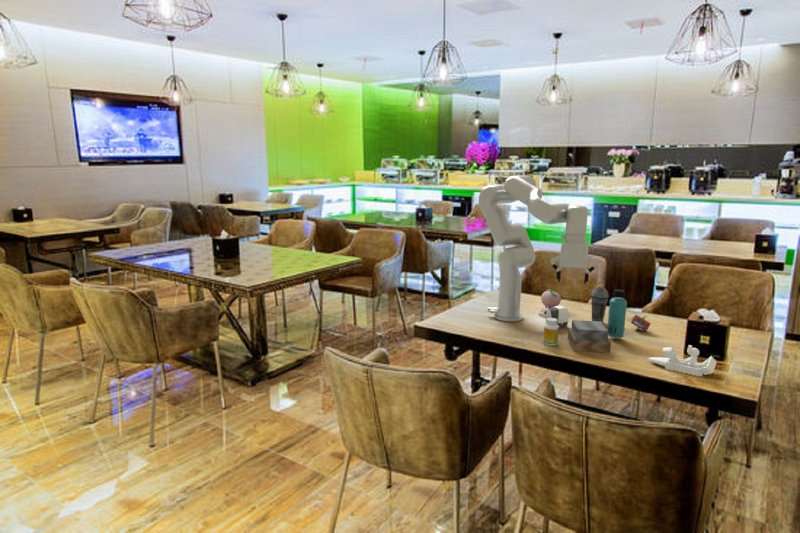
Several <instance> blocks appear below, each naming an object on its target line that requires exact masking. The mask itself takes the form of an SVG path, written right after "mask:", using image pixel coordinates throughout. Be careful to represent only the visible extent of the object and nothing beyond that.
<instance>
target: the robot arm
mask: <svg viewBox="0 0 800 533" xmlns="http://www.w3.org/2000/svg"><path fill="white" fill-rule="evenodd" d="M517 201H519V202H521V203H522V204H524V206H526V207H527V210H528V211H529V213H530V214H531V216H533V217H534V218H535V219H537V220H538V221H541V222H542V223H544V224H547V225H557V224H565V232H564V234H561V235H560V239H562V240H563V241H562V242H561V247H560V251H559V252H560V253H559V255H558V256H555V257H553V258H551V259H550V260H549V262H550V263H551V266H552V267H553V269H554V270H555V271H556V280H557V282H559V283H560V282H561V277H562V276H561V275H562V274H561V273H562V271H561V270H562V269H572V270H573V269H575V270H583V271H584V278H583V279H584V282H583V284H584V285H587V282H589V279H590V278H589V276H590V275H589V274H591V273H592V272H593V271H594V270H595V268H596V267H597V266H598V262H597V261H596V260H594V259H592V258H590V257H589V246H588V242H587V241H586V240H587V239H586V238H587V227H588V214H589V209H588V207H587V206H584V205H573V204H570V203H553V204H550V203H548V202H546V201H544V200H543V191H542V189H541V188H540V187H538V186H537V181H536V179H534V178H533V177H532V176H531V175H528V174H527V175H512V176H509V177H507V178H506V179H505V181H504V184H490V185H487V186H484V187H483V188H481V190H480V192H479V196H478V205H479V209H480V211H481V213H482V215H483V217H484V219H485V222H486V223H487V226H488V229H489V232H490V234H491V237H492V239H493V241H494V243H495V245H496V246H498V247H506V248H503V249H501V251H500V252H499V253H498V255H497V263H498V264H497V265H498V271H499V272H498V273H499V276H498V277H499V280H498V281H499V282H498V283H499V284H498V285H499V286H498V301H497V302H498V303H497V304H498V305H496V306H494V307H489V306H488V307H487V312H488V313H490V314H494V315H493V317H494V319H496V320H498V321H502V322H508V323H509V322H511V323H512V322H514V323H515V322H520V321H523V319H524V315H523V314H522V313H520V312H521V297H522V296H521V295H522V275H521V272H520V270H519V269H521V268H527V267H530V266H532V265H533V264H534V263H535V261H536V252H535V250H534V249H535V248H534V247H533V244H532V242H531V239H530V237H529V234H528V232H527V229H525V227H524V226H523V225H521V224H519V223H509V221H508V220H507V216H506V214H505V213H504V211H503V210H502V209H501V208H500V207H499V206H498V205H500V204H501V205H504V204H505V205H506V204H511V203H514V202H517ZM509 246H512V247H509ZM557 261H559V265H557V264H556V262H557ZM588 263H590V264H592V265H591V266H590V267H588Z"/></svg>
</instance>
